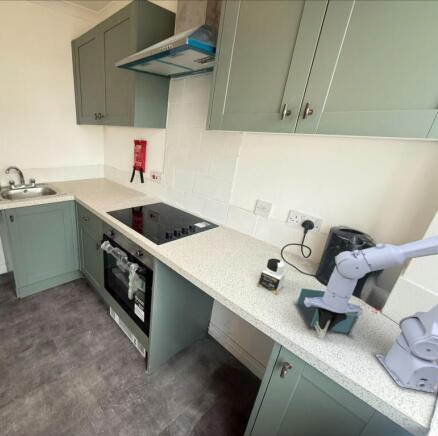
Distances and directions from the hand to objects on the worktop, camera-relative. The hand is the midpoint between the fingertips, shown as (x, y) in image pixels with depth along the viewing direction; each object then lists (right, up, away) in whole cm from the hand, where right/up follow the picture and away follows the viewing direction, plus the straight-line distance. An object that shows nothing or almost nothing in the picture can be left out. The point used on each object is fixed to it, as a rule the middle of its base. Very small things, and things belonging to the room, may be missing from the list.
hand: (324, 327), depth 75 cm
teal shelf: (+4, -3, +2) cm, 6 cm away
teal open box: (+6, -2, +10) cm, 12 cm away
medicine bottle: (-3, +5, +26) cm, 27 cm away
